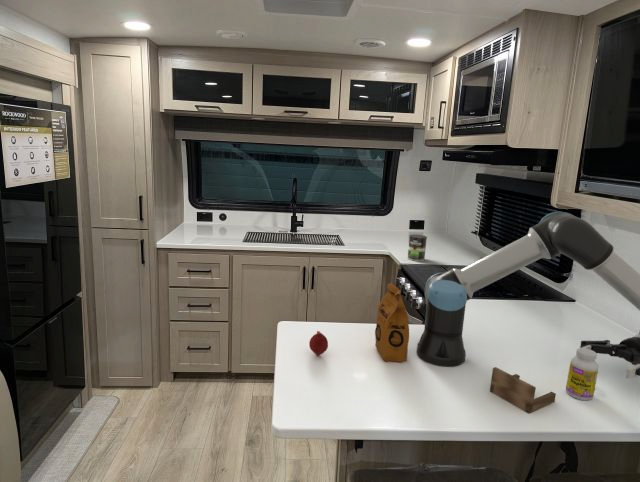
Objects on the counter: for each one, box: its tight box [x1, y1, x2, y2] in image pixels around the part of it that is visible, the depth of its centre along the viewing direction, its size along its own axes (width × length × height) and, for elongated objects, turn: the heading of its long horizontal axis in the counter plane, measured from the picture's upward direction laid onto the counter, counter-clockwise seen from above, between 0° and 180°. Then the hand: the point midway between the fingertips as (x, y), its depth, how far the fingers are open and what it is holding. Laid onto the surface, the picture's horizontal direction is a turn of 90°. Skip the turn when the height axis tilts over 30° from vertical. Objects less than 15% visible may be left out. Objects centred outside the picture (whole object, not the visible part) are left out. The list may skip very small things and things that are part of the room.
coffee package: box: [374, 282, 410, 363], centre depth 141 cm, size 10×12×22 cm
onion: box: [308, 330, 329, 356], centre depth 140 cm, size 6×6×8 cm
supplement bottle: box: [565, 347, 600, 401], centre depth 123 cm, size 7×7×13 cm
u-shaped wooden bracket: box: [489, 366, 557, 414], centre depth 121 cm, size 12×11×7 cm
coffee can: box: [407, 234, 428, 262], centre depth 270 cm, size 10×10×14 cm
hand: (601, 363), depth 128 cm, fingers open, 13 cm apart
